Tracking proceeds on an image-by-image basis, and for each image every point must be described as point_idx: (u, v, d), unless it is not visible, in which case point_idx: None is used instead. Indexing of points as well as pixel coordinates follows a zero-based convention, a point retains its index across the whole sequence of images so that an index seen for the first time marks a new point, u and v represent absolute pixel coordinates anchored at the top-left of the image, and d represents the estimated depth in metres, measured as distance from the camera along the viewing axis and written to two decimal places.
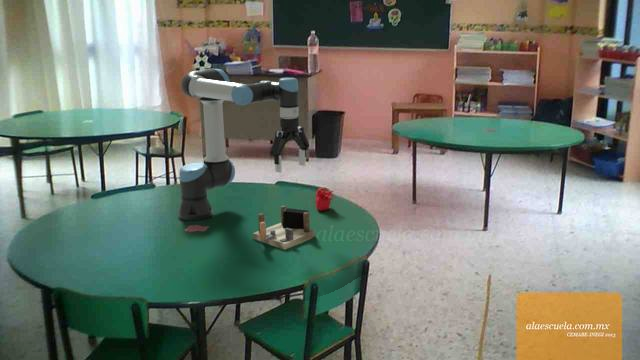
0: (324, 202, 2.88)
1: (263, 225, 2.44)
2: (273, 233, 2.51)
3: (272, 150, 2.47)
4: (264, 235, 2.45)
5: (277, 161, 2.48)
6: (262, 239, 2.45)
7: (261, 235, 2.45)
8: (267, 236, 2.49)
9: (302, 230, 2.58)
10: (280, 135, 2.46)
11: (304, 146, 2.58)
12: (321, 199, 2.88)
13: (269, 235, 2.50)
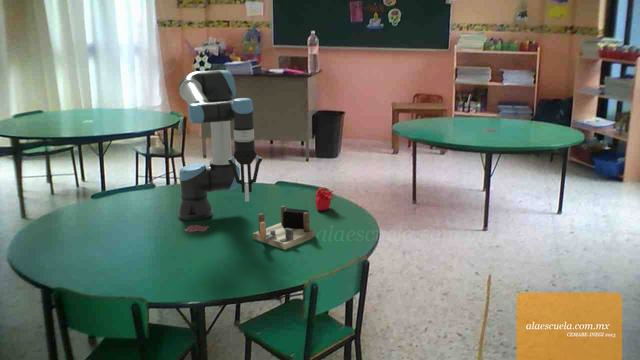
0: (324, 202, 2.88)
1: (263, 225, 2.44)
2: (273, 233, 2.51)
3: None
4: (264, 235, 2.45)
5: (242, 189, 2.38)
6: (262, 239, 2.45)
7: (261, 235, 2.45)
8: (267, 236, 2.49)
9: (302, 230, 2.58)
10: (231, 163, 2.34)
11: (250, 180, 2.37)
12: (321, 199, 2.88)
13: (269, 235, 2.50)
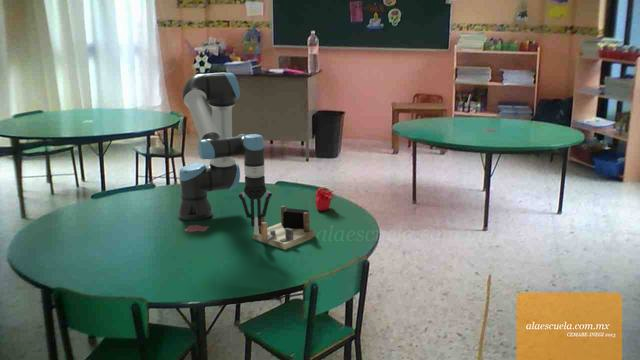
0: (324, 202, 2.88)
1: (265, 225, 2.43)
2: (273, 233, 2.51)
3: None
4: (266, 235, 2.45)
5: (252, 223, 2.42)
6: (264, 239, 2.45)
7: (263, 235, 2.45)
8: (268, 236, 2.49)
9: (302, 230, 2.58)
10: (241, 197, 2.38)
11: (259, 214, 2.41)
12: (321, 199, 2.88)
13: (269, 235, 2.50)
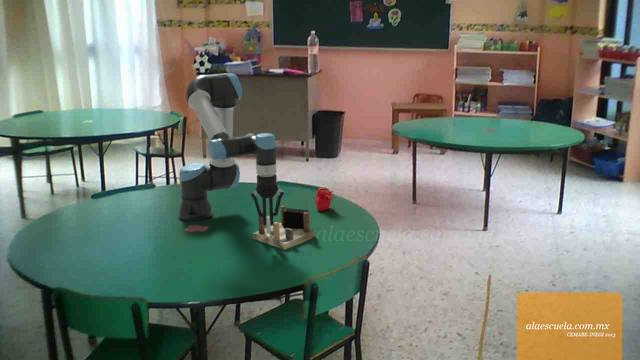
0: (324, 202, 2.88)
1: None
2: None
3: None
4: (279, 235, 2.45)
5: (264, 222, 2.43)
6: (278, 239, 2.45)
7: (277, 236, 2.44)
8: None
9: (302, 230, 2.58)
10: (253, 196, 2.39)
11: (271, 213, 2.41)
12: (321, 199, 2.88)
13: None
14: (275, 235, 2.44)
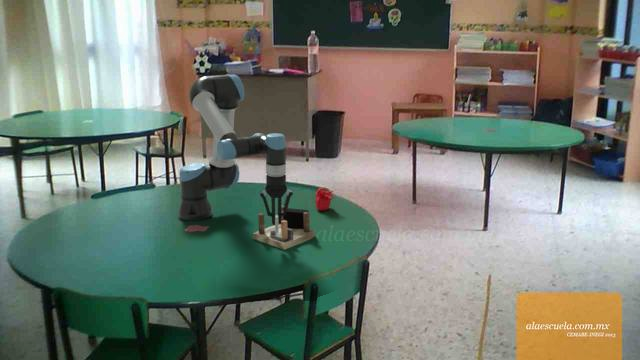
0: (324, 202, 2.88)
1: None
2: None
3: None
4: None
5: (273, 221, 2.44)
6: (287, 237, 2.47)
7: (286, 233, 2.46)
8: (279, 235, 2.49)
9: (302, 230, 2.58)
10: (262, 196, 2.40)
11: (280, 213, 2.43)
12: (321, 199, 2.88)
13: (276, 235, 2.50)
14: (285, 233, 2.46)
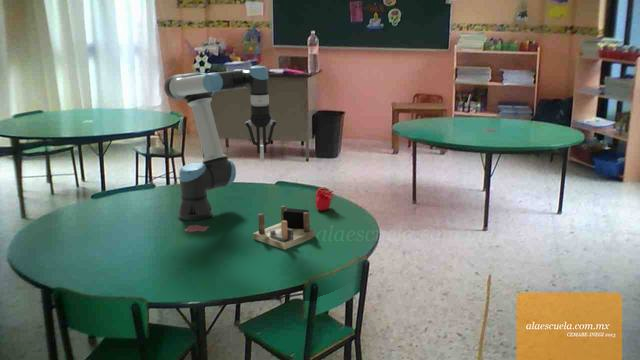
0: (324, 202, 2.88)
1: None
2: None
3: None
4: None
5: (258, 150, 2.60)
6: (287, 237, 2.47)
7: (286, 233, 2.46)
8: (279, 235, 2.49)
9: (302, 230, 2.58)
10: (248, 125, 2.56)
11: (265, 141, 2.59)
12: (321, 199, 2.88)
13: (276, 235, 2.50)
14: (285, 233, 2.46)
